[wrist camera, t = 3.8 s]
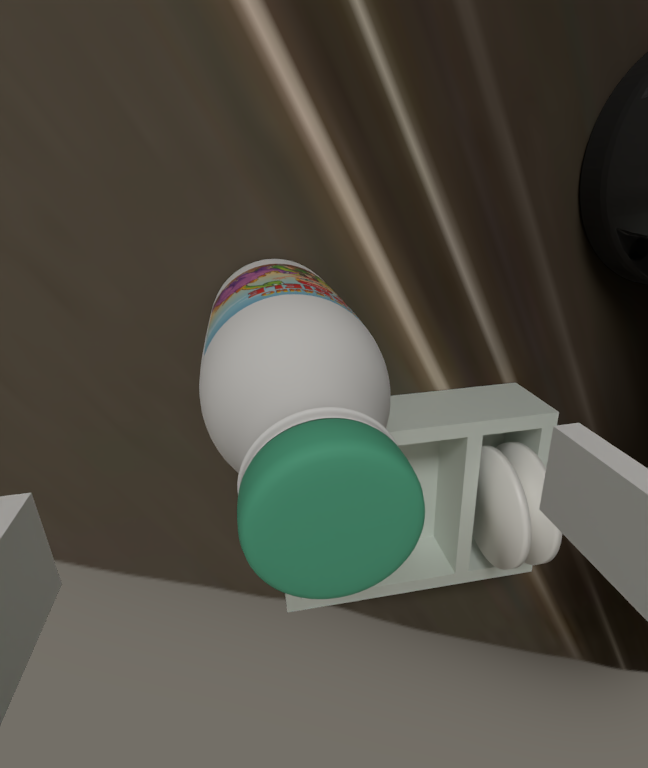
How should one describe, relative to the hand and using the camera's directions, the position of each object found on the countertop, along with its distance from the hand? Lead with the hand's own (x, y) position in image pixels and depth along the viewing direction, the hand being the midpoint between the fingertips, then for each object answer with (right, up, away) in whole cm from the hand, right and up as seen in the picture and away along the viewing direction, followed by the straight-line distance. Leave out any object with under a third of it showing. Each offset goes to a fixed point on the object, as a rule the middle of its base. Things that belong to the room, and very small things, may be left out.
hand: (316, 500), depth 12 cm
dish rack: (+5, -4, +23) cm, 24 cm away
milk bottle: (-3, +7, +17) cm, 19 cm away
